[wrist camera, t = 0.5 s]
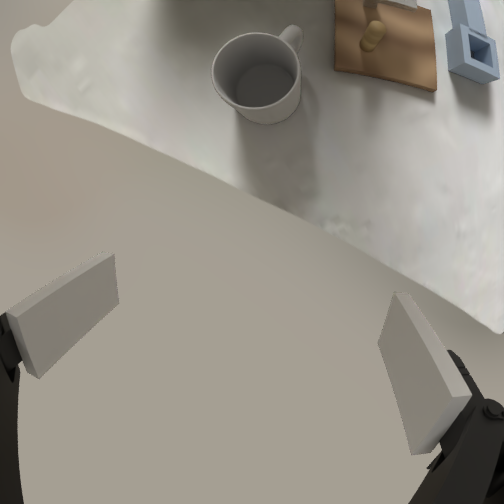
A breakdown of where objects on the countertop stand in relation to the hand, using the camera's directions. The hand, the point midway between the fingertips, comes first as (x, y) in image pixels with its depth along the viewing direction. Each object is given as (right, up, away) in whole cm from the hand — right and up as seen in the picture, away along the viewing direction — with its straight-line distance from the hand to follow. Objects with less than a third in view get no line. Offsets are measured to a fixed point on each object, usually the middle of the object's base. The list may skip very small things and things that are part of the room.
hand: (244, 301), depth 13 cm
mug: (+3, +24, +20) cm, 31 cm away
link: (+31, +36, +12) cm, 49 cm away
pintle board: (+18, +31, +15) cm, 39 cm away
